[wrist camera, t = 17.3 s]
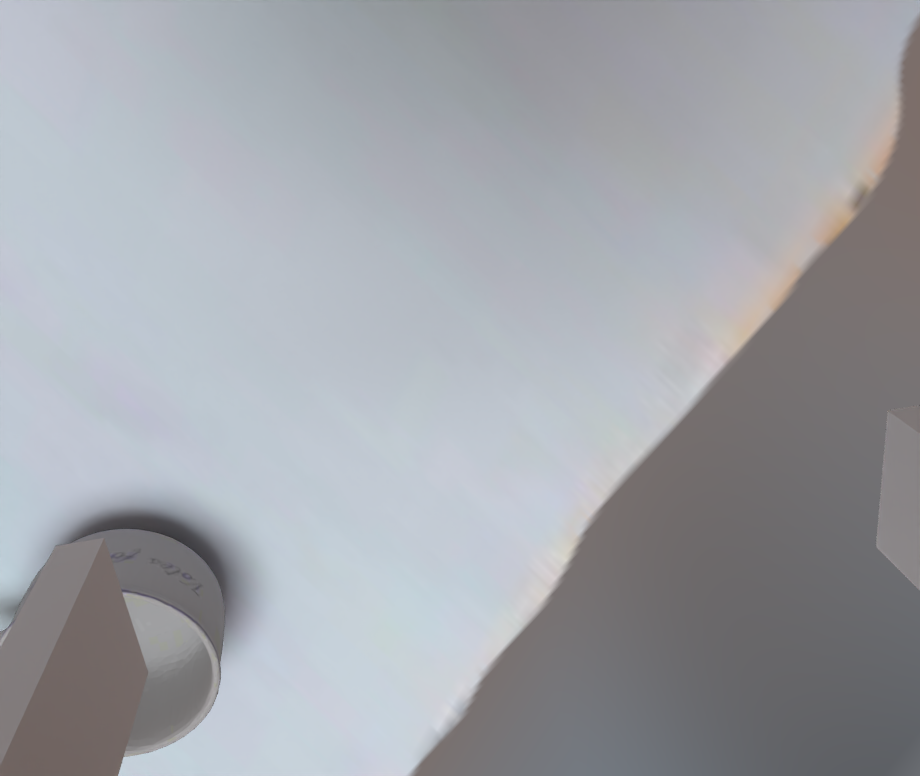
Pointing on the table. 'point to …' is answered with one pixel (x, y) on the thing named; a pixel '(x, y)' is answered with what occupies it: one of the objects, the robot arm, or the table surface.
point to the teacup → (166, 632)
